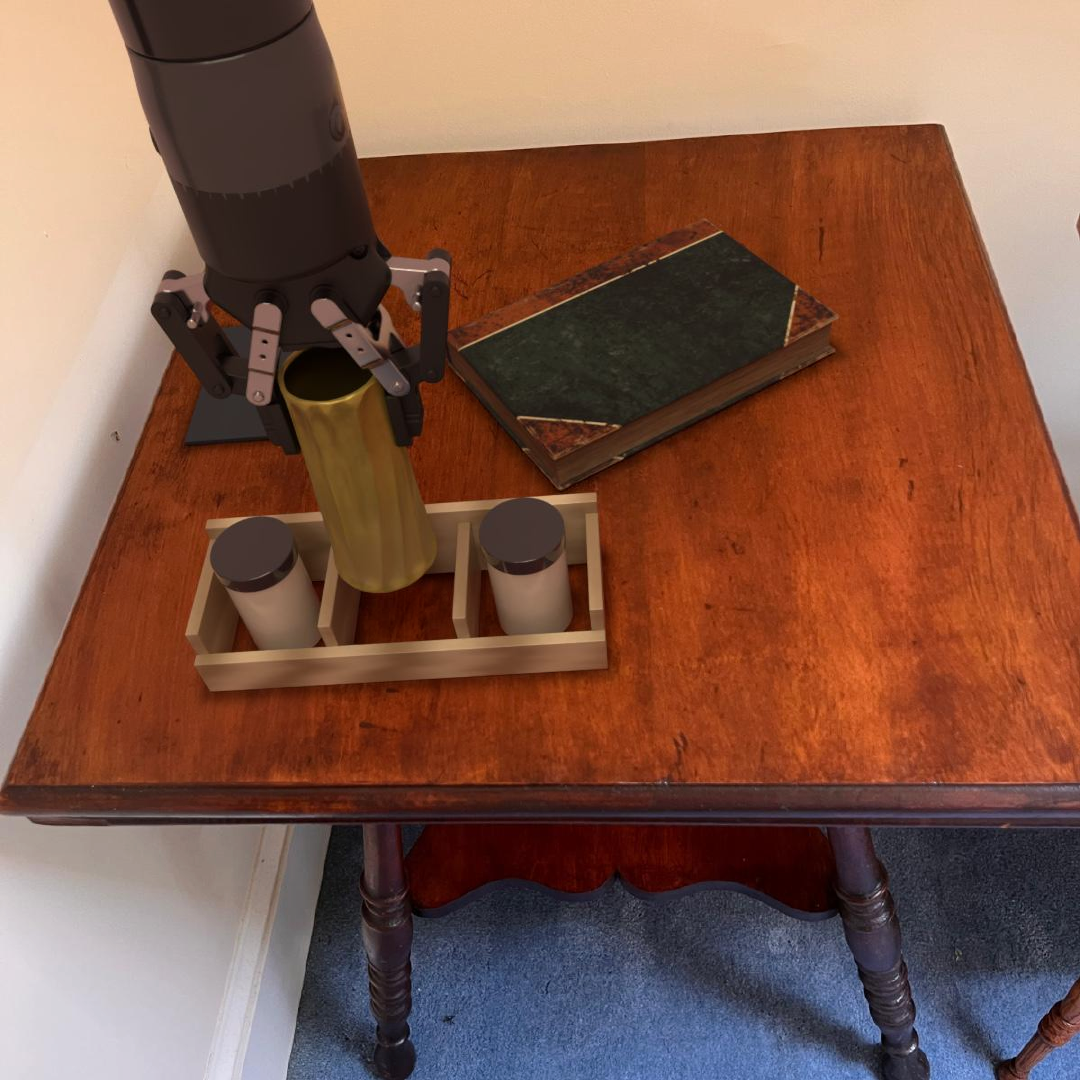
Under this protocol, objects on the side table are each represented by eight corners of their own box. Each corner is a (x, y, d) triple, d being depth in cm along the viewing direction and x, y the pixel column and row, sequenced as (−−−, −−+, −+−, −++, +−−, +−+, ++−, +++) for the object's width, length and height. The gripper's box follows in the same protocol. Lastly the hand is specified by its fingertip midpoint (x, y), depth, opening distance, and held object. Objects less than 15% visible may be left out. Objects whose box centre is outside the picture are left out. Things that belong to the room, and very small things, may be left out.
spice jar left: (245, 662, 66) (201, 583, 59) (259, 599, 69) (218, 518, 63) (323, 658, 65) (286, 577, 59) (332, 595, 68) (299, 512, 62)
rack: (210, 692, 64) (175, 636, 60) (237, 577, 70) (207, 519, 66) (608, 668, 63) (602, 610, 58) (601, 553, 69) (596, 491, 64)
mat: (186, 445, 79) (184, 442, 79) (221, 331, 89) (219, 327, 88) (364, 432, 78) (363, 428, 78) (382, 317, 88) (381, 313, 87)
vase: (320, 587, 60) (247, 403, 49) (357, 510, 64) (296, 323, 53) (419, 602, 59) (366, 416, 48) (450, 522, 62) (408, 333, 52)
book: (557, 494, 72) (836, 353, 79) (553, 458, 70) (842, 315, 76) (446, 364, 83) (700, 249, 89) (438, 328, 80) (701, 212, 87)
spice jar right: (495, 647, 64) (477, 565, 58) (497, 584, 68) (480, 500, 62) (575, 642, 64) (565, 559, 58) (573, 579, 67) (563, 494, 61)
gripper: (438, 75, 43) (489, 383, 56) (106, 105, 44) (230, 401, 57) (426, 169, 38) (484, 483, 51) (53, 201, 39) (202, 501, 52)
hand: (350, 439), depth 54 cm, fingers closed on vase, 5 cm apart
